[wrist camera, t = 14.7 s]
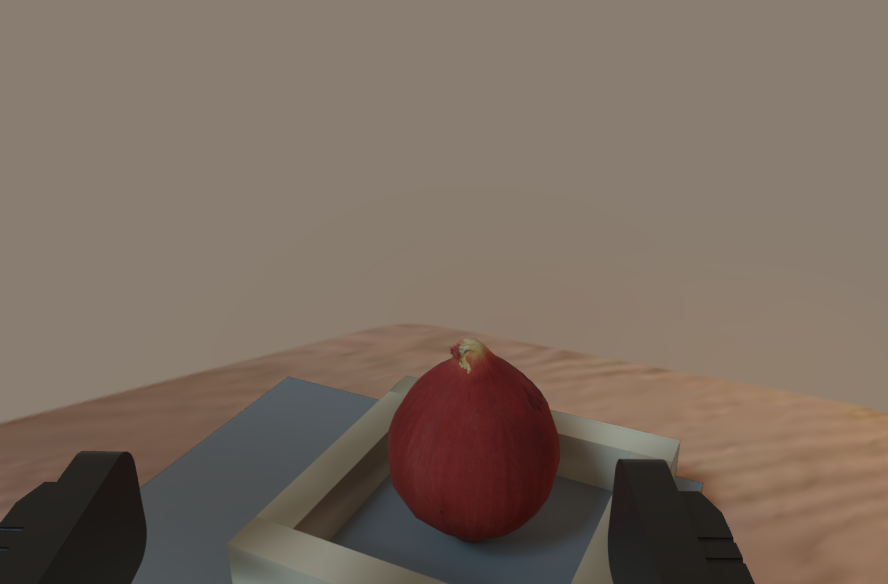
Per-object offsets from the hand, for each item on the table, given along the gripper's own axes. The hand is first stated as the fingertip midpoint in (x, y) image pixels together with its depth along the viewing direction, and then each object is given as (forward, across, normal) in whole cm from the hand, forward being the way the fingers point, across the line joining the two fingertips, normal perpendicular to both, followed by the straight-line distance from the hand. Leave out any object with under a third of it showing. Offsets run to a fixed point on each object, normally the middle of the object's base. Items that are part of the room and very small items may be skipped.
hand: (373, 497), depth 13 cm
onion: (+12, -2, +11) cm, 17 cm away
